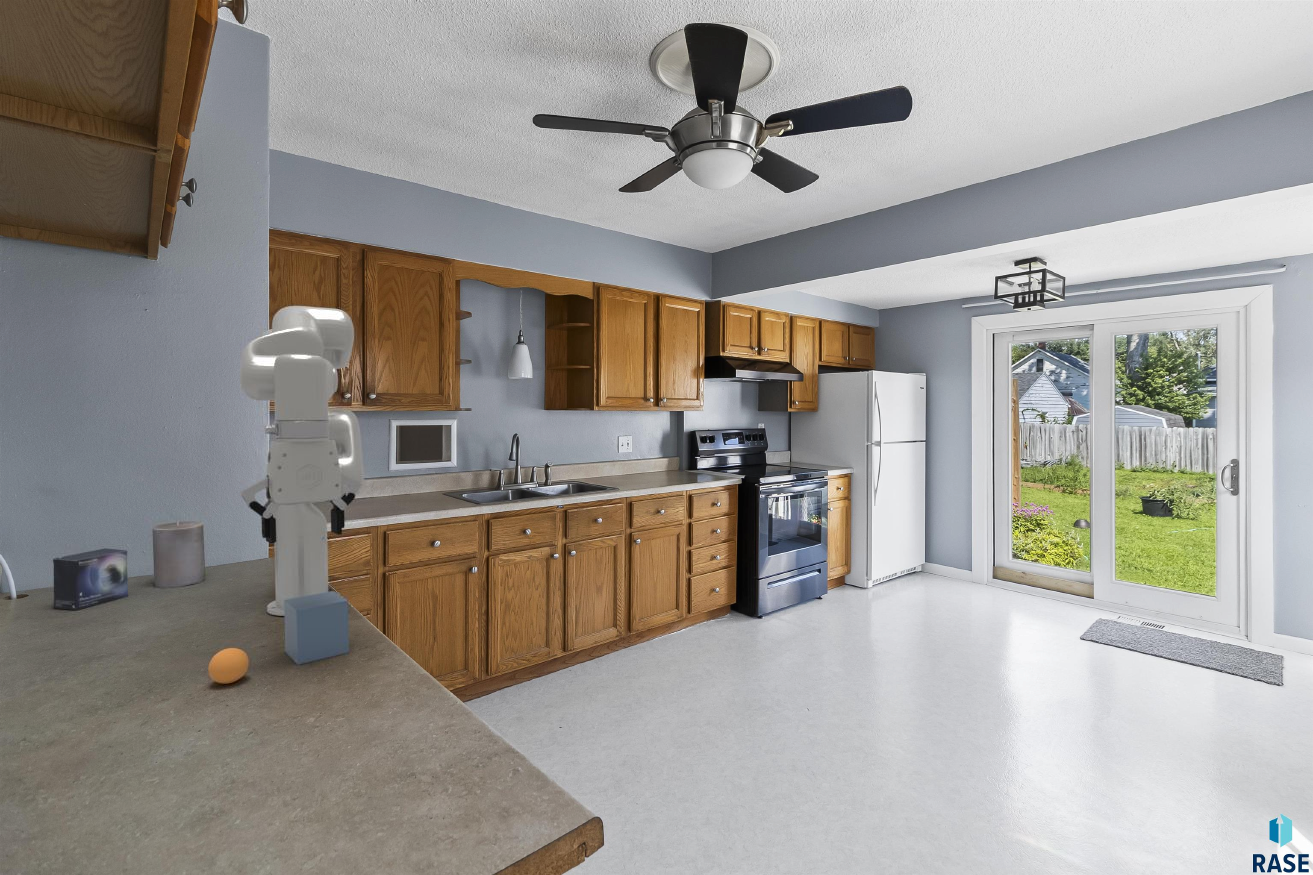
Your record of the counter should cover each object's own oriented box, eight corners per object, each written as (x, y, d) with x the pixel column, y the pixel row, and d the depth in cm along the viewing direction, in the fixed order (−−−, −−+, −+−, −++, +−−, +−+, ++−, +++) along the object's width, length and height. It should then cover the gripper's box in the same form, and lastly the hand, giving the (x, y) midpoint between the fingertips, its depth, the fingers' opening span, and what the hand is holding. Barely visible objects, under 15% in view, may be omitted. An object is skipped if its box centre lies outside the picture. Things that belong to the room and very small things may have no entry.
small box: (77, 611, 127) (75, 560, 127) (51, 609, 129) (49, 558, 128) (130, 596, 138) (128, 548, 137) (106, 594, 139) (104, 547, 139)
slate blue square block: (285, 651, 106) (284, 599, 105) (334, 640, 111) (333, 590, 111) (297, 664, 100) (296, 610, 100) (349, 652, 105) (348, 600, 105)
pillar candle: (169, 578, 153) (166, 516, 152) (213, 575, 155) (211, 515, 154) (144, 589, 143) (141, 524, 142) (192, 587, 145) (189, 522, 144)
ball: (214, 677, 95) (213, 645, 95) (252, 672, 97) (251, 641, 97) (204, 691, 91) (203, 657, 90) (244, 686, 92) (243, 652, 92)
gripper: (245, 434, 92) (248, 549, 93) (366, 431, 105) (368, 533, 105) (233, 432, 98) (236, 542, 98) (350, 430, 110) (352, 527, 111)
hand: (304, 537), depth 102 cm, fingers open, 9 cm apart
